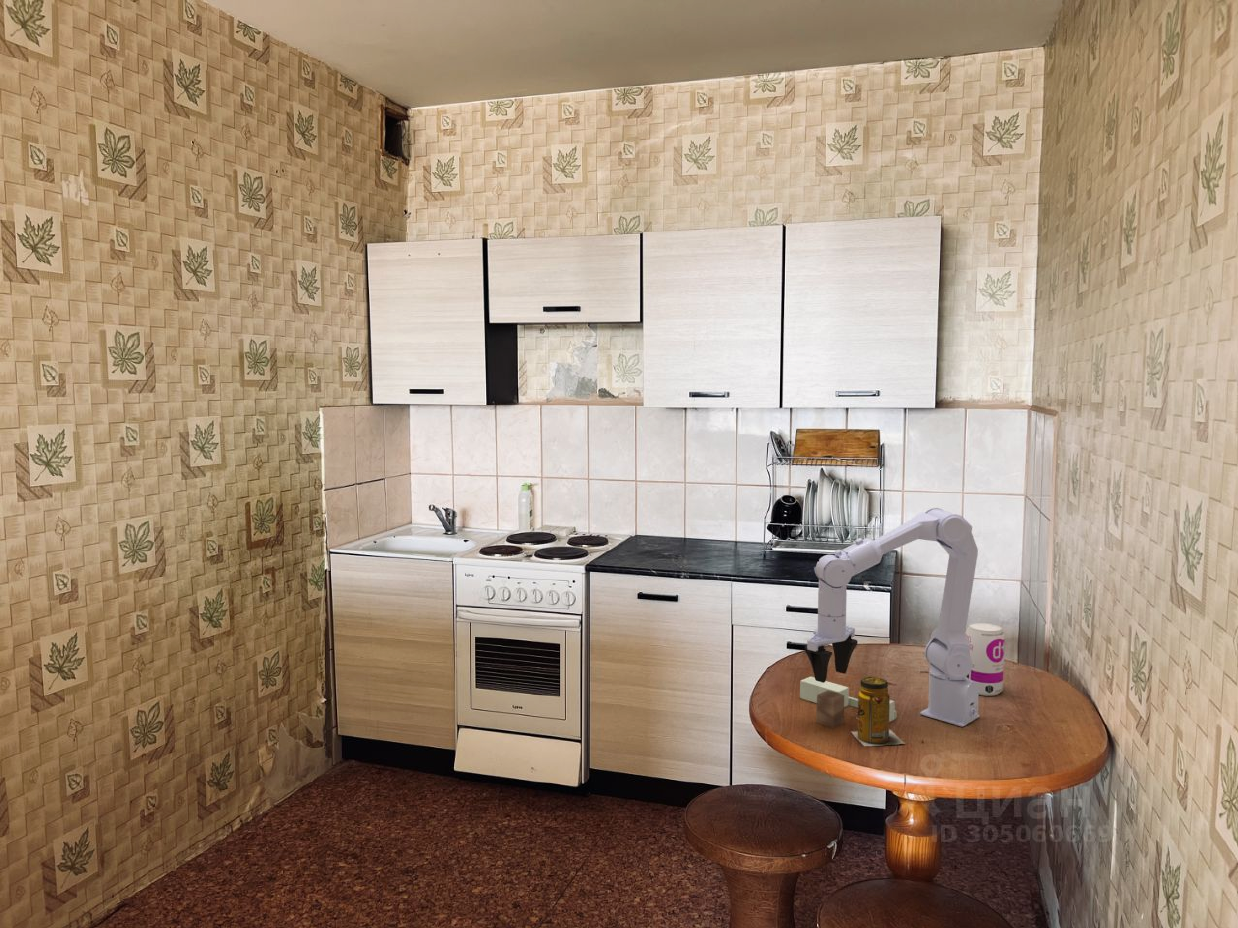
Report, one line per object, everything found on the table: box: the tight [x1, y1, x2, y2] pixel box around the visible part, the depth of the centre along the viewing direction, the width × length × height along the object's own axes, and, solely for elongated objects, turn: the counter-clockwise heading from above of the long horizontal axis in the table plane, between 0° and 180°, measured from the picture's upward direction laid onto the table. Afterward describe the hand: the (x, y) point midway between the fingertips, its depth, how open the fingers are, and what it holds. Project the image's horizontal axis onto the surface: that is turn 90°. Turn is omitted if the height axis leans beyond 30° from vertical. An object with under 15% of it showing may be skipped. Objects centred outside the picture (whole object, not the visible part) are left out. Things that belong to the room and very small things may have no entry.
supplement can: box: [965, 621, 1006, 697], centre depth 197 cm, size 8×8×15 cm
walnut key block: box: [816, 690, 845, 729], centre depth 180 cm, size 4×4×6 cm
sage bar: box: [799, 675, 898, 723], centre depth 188 cm, size 21×5×4 cm, turn 43°
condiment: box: [850, 676, 906, 747], centre depth 171 cm, size 7×8×12 cm
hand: (830, 676), depth 180 cm, fingers open, 7 cm apart
